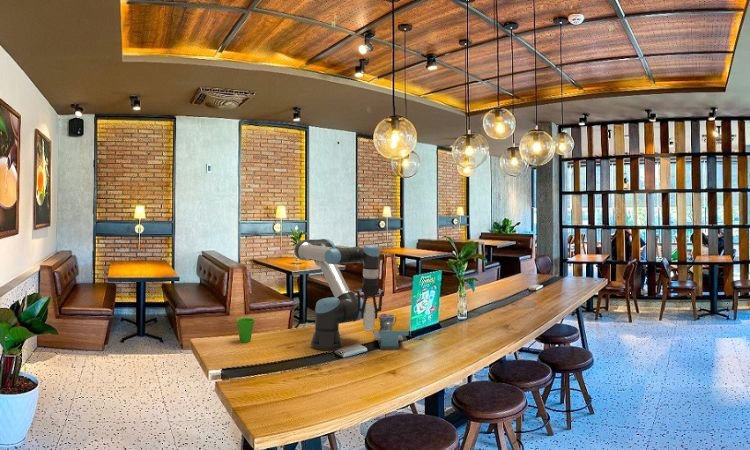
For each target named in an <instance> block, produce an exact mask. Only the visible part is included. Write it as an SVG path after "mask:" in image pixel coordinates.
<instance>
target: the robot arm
mask: <svg viewBox="0 0 750 450" xmlns="http://www.w3.org/2000/svg"><path fill="white" fill-rule="evenodd" d="M293 248H294V251H293V252H294V253H293V254H294V255H295V257H296V258H297V259H298V260H300V261H313V262H314V263H315V265H316V266H317V267H320V270H321V272H322V274H323V276H324V278H325V280H326V282H327V284H328V286H329V288H330V291H331V292H332V295H333V296H334V297H333V296H332V297H325V298H320V299H319V300H317V302H316V303H315V309H314V311H315V321H314V324H315V326H314V333H313V336H312V338H311V343H310V345H311V346H310V347H311V348H313V349H315V350H319V351H333V350H334V351H335V350H338V349H337V348H339V349H340V348H342V345H343V340H342V337H341V334H340V331H339V330H340V329H339V325H340V324H345V323H351V322H353V323H354V322H357V321H360V320H362V325H363V327H364V326H365V305H366V304H367V300H368V298H370V297H371V298H372V301H373V303H372V304H373V305H374V320H373V327H375V325H376V320H377V319H378V313H379V312H381V311H382V306H383V305H382V304H383V296H384V294H385V292H384V290H383V289H379V274H380V273H379V272H380V271H379V267H380V254H381V253H380V247H379V246H378V245H375V244H365V245H364V246H363V247H361V246H352V247H340V248H339V247H336V246H335V244H334V242H333V241H332V240H331V239H328V238H327V239H326V238H320V239H317V238H316V239H302V240H300V241H298V242H297V243H296V244H295V246H294V247H293ZM355 263H357V264H358V263H359V264H362V265H363V267H362V268H363V269H362V276H363V278H362V286H361V288H360V289H356V294H357V295H356V294H355V292H354V291H352V290H350V287H349V286H348V284H347V283H346V281H345V279H344V277H343V274H342V272H341V271H340V269H339V267H338V265H341V264H355ZM362 293H363V295H364V297H363V298H362V297H361V294H362ZM377 294H379V295H378V296H379V298H378V306H377V300H376V295H377Z"/></svg>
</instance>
